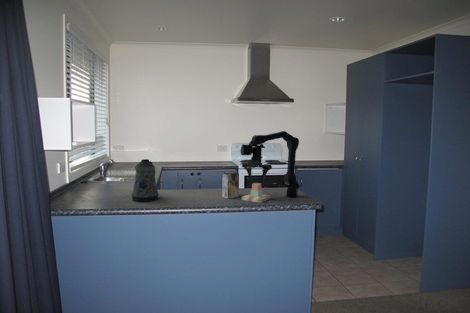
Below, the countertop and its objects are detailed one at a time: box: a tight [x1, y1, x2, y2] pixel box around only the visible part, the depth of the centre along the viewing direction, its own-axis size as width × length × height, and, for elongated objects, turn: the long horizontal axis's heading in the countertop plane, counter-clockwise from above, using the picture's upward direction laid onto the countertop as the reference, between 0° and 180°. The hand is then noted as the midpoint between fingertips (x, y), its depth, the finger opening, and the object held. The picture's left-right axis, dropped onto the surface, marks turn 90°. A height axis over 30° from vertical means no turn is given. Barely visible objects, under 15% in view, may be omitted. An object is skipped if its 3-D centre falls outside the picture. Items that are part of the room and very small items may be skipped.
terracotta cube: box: [251, 182, 262, 191], centre depth 216 cm, size 4×4×4 cm
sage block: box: [250, 189, 263, 197], centre depth 217 cm, size 6×6×4 cm
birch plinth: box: [240, 192, 272, 204], centre depth 217 cm, size 14×14×2 cm
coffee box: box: [221, 171, 240, 199], centre depth 222 cm, size 9×6×16 cm
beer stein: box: [131, 158, 159, 203], centre depth 214 cm, size 16×19×25 cm
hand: (256, 179), depth 216 cm, fingers open, 9 cm apart
